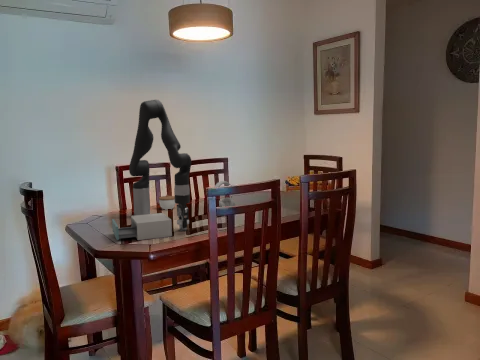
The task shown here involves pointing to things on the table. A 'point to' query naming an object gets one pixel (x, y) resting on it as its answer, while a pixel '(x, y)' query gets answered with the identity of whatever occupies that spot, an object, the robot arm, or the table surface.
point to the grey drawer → (123, 231)
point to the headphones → (225, 201)
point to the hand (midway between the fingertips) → (183, 226)
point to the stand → (182, 228)
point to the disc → (181, 222)
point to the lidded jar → (167, 202)
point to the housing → (152, 226)
